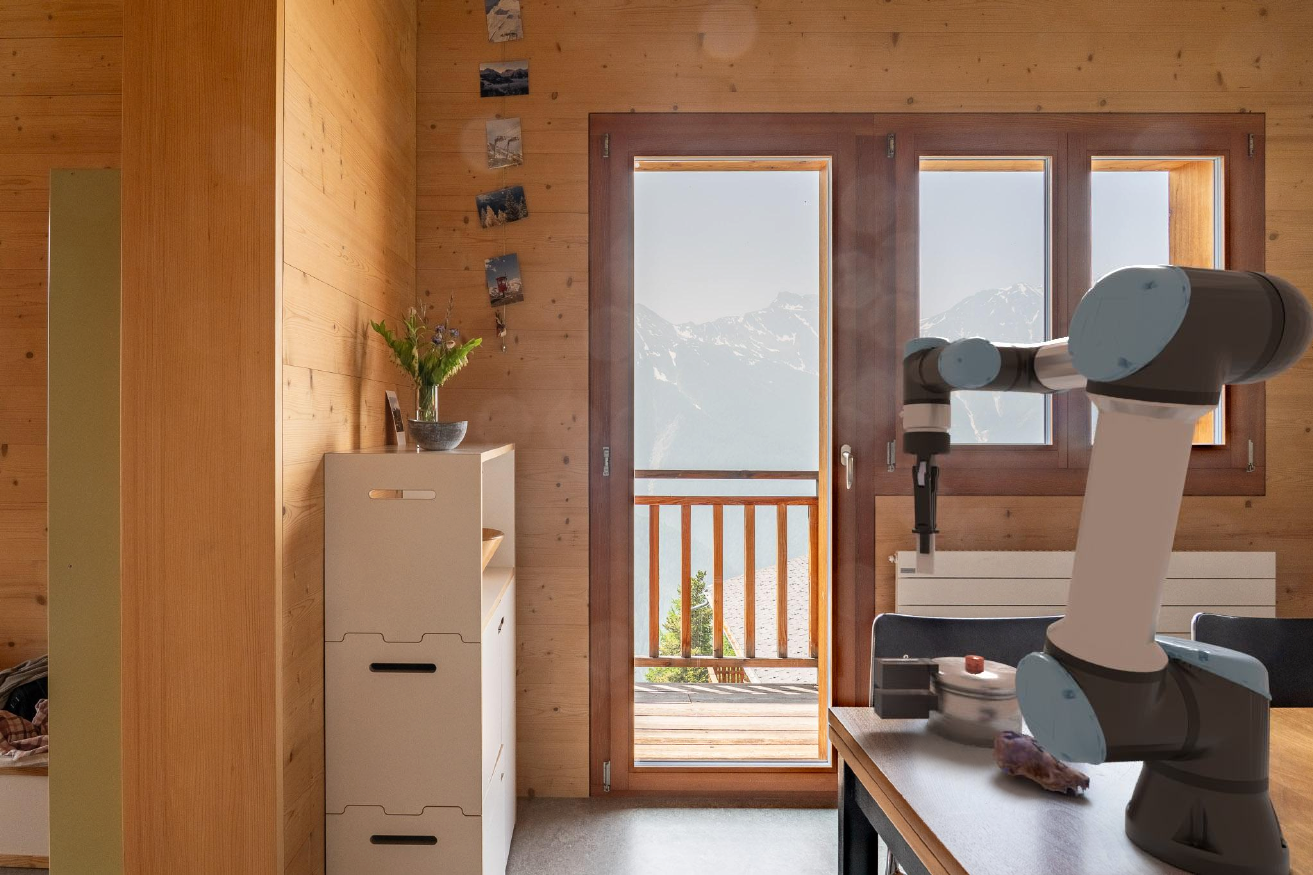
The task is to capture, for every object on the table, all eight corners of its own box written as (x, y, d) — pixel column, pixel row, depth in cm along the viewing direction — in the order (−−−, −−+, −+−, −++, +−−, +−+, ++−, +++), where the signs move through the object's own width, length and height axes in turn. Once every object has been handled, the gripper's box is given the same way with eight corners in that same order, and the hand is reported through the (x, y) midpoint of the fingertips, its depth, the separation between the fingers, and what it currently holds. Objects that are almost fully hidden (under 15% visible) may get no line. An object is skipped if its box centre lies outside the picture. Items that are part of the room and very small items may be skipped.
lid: (1047, 701, 113) (1047, 671, 113) (896, 701, 111) (897, 671, 111) (994, 672, 128) (995, 645, 128) (861, 672, 127) (862, 645, 127)
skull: (1098, 794, 98) (1099, 747, 98) (1071, 809, 94) (1071, 760, 94) (1010, 762, 108) (1010, 720, 108) (981, 775, 103) (982, 730, 104)
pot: (1042, 748, 113) (1043, 695, 113) (895, 749, 112) (896, 695, 112) (993, 714, 128) (993, 668, 128) (861, 715, 126) (862, 668, 126)
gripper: (908, 433, 131) (908, 567, 130) (896, 429, 120) (895, 576, 119) (954, 433, 128) (953, 570, 127) (945, 428, 116) (945, 580, 115)
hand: (925, 573), depth 123 cm, fingers closed
